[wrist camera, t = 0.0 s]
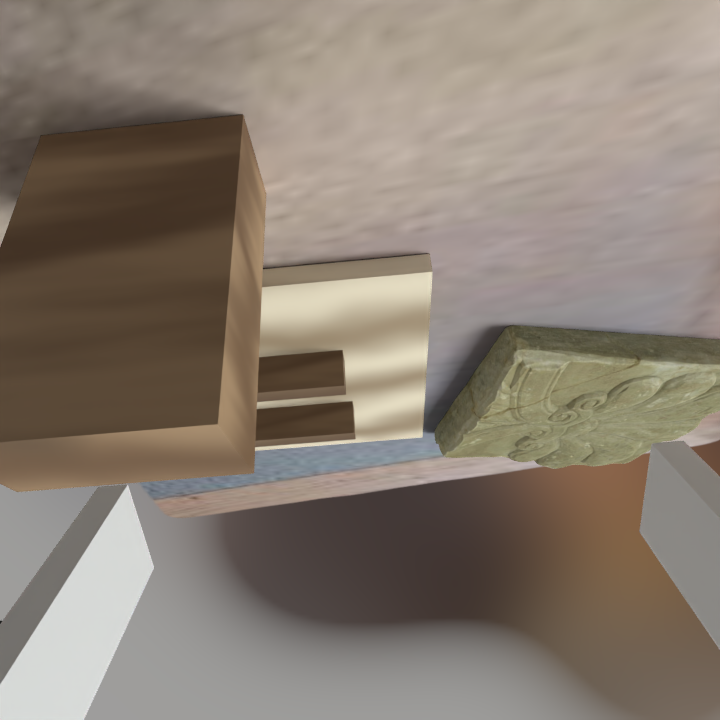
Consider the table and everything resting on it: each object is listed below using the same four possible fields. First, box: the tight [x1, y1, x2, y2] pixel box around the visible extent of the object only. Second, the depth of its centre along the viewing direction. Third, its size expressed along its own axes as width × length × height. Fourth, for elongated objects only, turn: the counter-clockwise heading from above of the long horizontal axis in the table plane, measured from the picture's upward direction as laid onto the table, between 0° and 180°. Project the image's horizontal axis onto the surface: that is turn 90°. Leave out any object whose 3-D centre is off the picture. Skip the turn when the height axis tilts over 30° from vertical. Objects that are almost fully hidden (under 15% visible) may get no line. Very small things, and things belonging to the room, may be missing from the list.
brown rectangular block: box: [0, 115, 266, 492], centre depth 20 cm, size 4×8×13 cm, turn 94°
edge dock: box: [255, 254, 432, 451], centre depth 38 cm, size 22×17×4 cm
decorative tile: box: [435, 325, 720, 469], centre depth 44 cm, size 19×20×4 cm
